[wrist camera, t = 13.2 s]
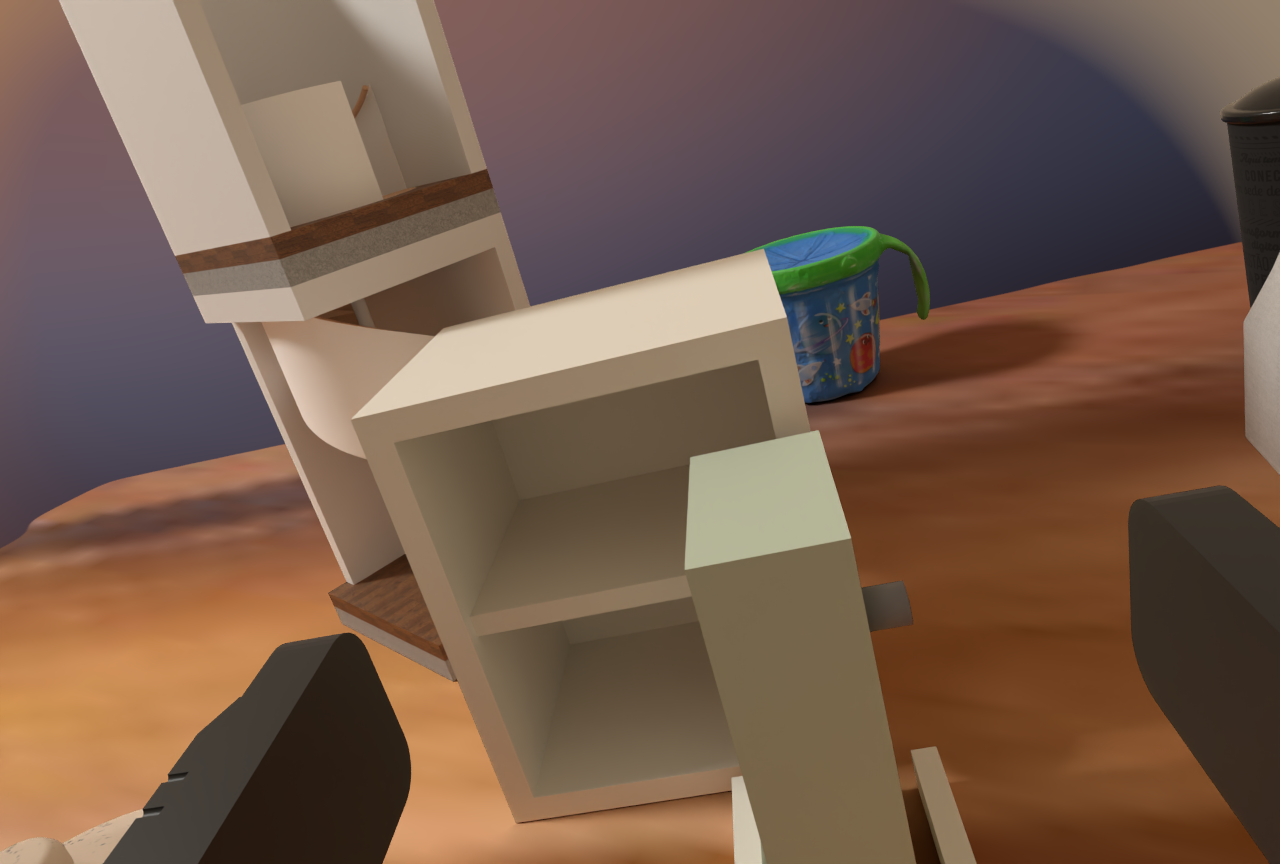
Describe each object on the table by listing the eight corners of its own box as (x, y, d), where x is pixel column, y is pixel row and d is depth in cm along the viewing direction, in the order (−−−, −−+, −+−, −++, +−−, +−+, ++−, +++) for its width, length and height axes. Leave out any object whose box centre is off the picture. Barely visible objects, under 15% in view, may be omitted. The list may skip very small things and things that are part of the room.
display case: (342, 623, 49) (28, -66, 37) (489, 529, 55) (265, -84, 43) (453, 681, 41) (98, -180, 29) (611, 563, 47) (377, -181, 35)
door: (799, 979, 24) (684, 569, 19) (782, 806, 29) (690, 457, 25) (975, 959, 23) (899, 529, 18) (923, 786, 28) (855, 422, 24)
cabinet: (458, 1053, 24) (209, 558, 19) (558, 652, 41) (443, 328, 35) (1013, 993, 22) (920, 405, 16) (879, 594, 38) (811, 236, 33)
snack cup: (712, 432, 61) (677, 291, 57) (729, 379, 70) (700, 255, 66) (948, 394, 56) (926, 239, 53) (933, 342, 66) (913, 207, 62)
